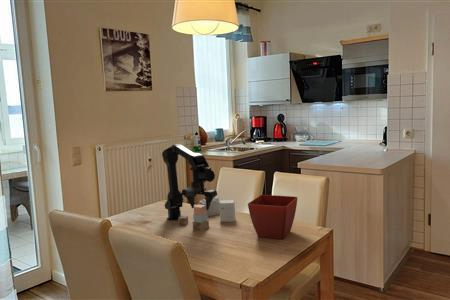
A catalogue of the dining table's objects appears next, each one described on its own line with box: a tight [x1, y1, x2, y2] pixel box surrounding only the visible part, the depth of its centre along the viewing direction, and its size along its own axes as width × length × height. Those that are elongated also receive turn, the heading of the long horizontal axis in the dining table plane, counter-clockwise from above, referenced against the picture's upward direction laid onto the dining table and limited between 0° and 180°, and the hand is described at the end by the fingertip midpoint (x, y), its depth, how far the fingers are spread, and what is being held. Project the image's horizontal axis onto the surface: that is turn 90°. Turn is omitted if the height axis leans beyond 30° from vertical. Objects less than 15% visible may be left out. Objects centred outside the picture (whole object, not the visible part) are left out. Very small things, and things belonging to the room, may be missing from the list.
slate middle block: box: [192, 213, 208, 223], centre depth 204 cm, size 5×5×4 cm
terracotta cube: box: [193, 204, 206, 215], centre depth 203 cm, size 4×4×4 cm
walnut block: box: [177, 215, 189, 226], centre depth 213 cm, size 4×4×4 cm
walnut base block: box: [192, 219, 210, 232], centre depth 204 cm, size 6×6×4 cm
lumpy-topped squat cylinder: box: [198, 196, 223, 217], centre depth 231 cm, size 10×13×9 cm
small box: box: [219, 199, 236, 223], centre depth 215 cm, size 8×6×10 cm
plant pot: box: [247, 194, 298, 240], centre depth 190 cm, size 19×19×17 cm
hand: (200, 208), depth 203 cm, fingers open, 9 cm apart
